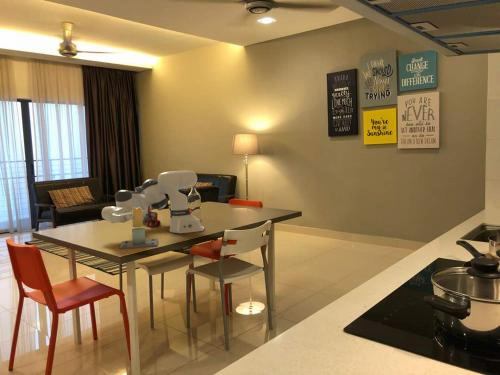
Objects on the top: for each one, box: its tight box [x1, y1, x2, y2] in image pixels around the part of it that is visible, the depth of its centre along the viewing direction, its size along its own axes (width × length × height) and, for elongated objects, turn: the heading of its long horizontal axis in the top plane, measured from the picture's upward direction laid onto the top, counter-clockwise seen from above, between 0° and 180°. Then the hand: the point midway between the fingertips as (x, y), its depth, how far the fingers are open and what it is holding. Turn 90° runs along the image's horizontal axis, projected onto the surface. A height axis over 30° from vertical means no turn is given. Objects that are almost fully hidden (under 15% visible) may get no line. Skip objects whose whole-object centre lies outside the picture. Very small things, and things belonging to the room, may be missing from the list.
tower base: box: [119, 227, 159, 250], centre depth 231 cm, size 20×14×9 cm
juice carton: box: [134, 185, 153, 223], centre depth 303 cm, size 9×10×27 cm
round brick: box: [131, 207, 144, 228], centre depth 230 cm, size 6×6×11 cm
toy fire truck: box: [145, 211, 162, 228], centre depth 283 cm, size 7×12×10 cm, turn 40°
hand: (138, 216), depth 230 cm, fingers closed on round brick, 5 cm apart
